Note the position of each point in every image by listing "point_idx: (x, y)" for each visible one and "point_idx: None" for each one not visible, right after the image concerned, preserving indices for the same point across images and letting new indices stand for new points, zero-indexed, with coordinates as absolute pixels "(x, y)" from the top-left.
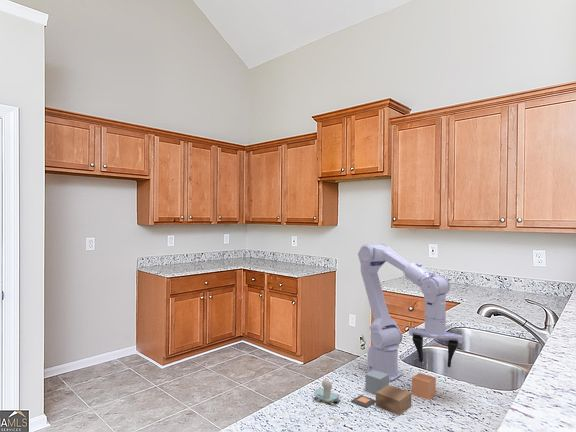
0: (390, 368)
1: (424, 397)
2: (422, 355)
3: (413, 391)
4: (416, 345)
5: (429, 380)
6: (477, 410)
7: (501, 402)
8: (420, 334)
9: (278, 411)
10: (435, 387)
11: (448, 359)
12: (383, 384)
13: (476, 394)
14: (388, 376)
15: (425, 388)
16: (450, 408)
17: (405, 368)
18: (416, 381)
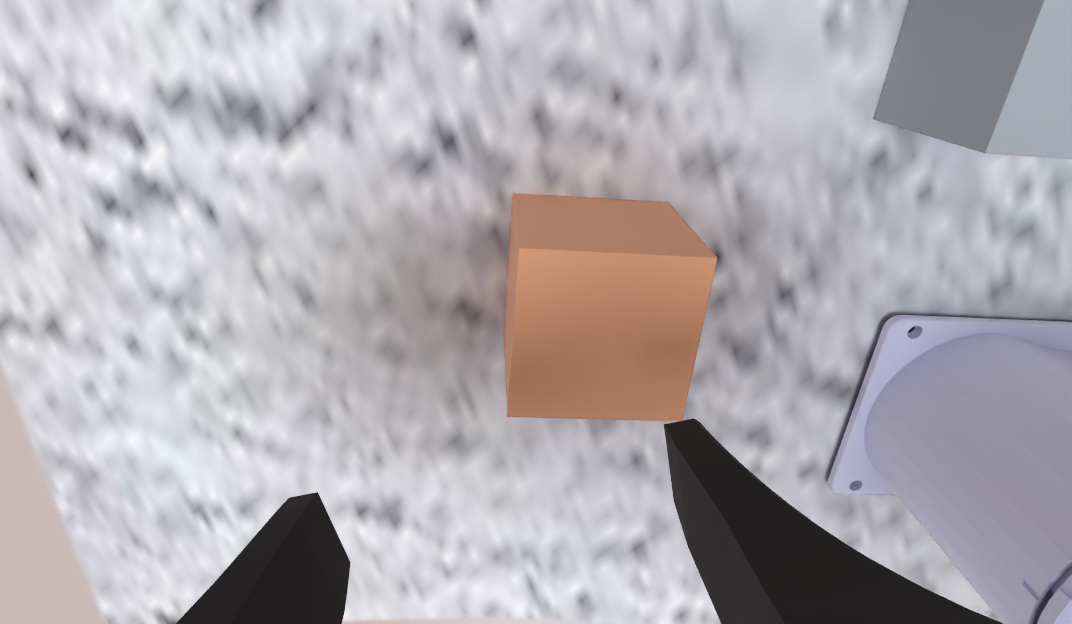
0: (963, 406)
1: (552, 196)
2: (695, 535)
3: (662, 210)
4: (878, 587)
5: (532, 308)
6: (135, 277)
7: (93, 509)
8: None
9: None
10: (505, 359)
11: (255, 573)
12: (976, 6)
13: None
14: (971, 141)
15: (550, 223)
16: (305, 159)
17: None
18: (657, 243)
